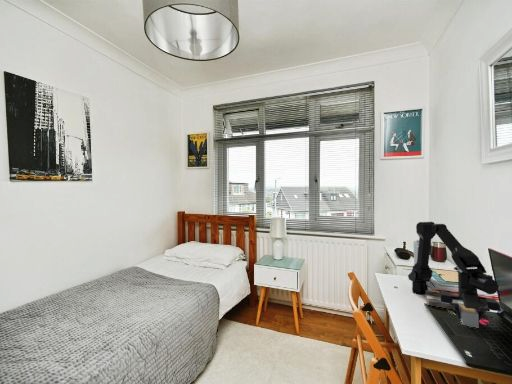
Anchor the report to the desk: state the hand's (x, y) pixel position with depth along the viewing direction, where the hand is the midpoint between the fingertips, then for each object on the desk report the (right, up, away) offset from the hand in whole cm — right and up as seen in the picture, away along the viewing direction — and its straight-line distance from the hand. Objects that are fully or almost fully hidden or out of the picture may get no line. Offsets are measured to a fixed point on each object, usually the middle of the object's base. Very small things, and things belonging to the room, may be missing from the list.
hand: (468, 320), depth 99 cm
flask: (+11, 0, +45) cm, 46 cm away
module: (0, -1, 0) cm, 1 cm away
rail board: (+6, -1, +15) cm, 16 cm away
